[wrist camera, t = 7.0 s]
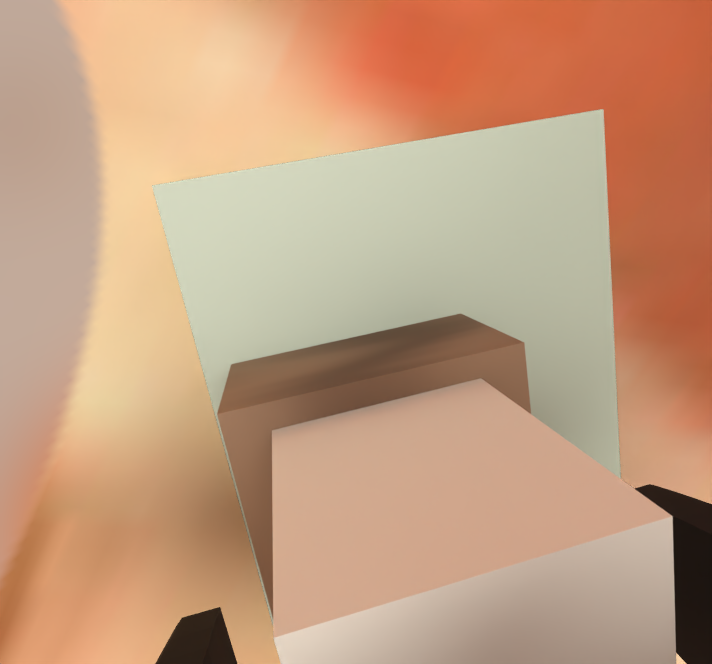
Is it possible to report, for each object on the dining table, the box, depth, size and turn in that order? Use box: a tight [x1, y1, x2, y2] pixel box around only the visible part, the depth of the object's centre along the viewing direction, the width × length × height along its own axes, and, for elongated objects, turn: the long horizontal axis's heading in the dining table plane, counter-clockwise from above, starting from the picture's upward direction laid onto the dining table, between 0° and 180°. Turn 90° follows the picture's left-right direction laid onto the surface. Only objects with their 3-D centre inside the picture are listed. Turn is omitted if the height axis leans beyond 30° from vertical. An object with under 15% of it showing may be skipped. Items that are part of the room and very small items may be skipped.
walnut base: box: [217, 314, 531, 617], centre depth 12 cm, size 6×6×4 cm
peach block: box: [272, 378, 676, 664], centre depth 8 cm, size 4×4×5 cm
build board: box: [152, 109, 621, 624], centre depth 14 cm, size 12×16×1 cm
